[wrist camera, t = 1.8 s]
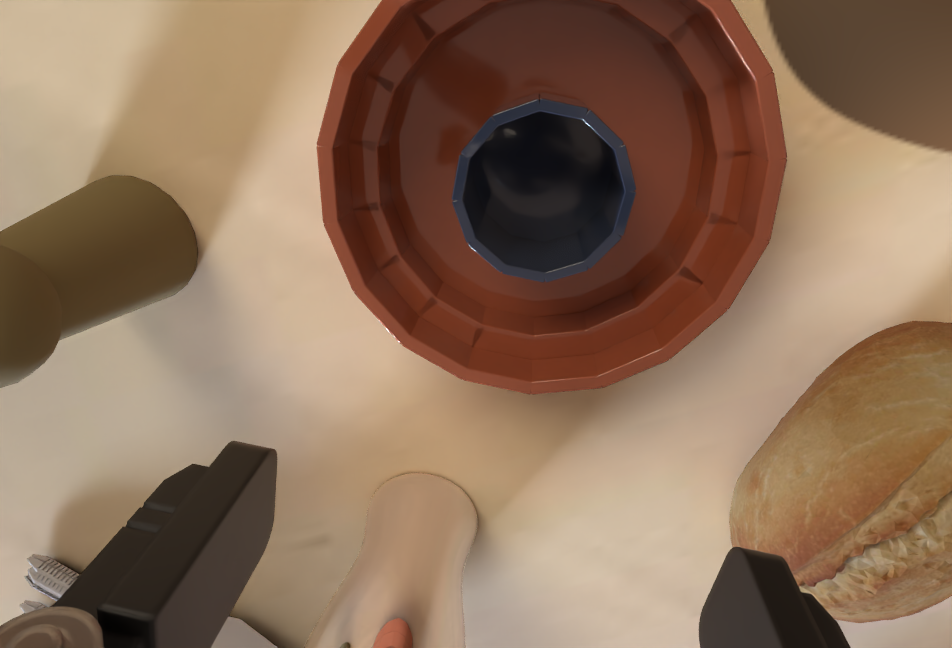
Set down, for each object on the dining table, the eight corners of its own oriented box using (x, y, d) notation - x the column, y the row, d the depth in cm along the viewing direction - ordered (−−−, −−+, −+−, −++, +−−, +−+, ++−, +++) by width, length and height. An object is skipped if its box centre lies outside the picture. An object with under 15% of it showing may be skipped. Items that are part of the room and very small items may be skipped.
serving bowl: (280, 187, 27) (233, 211, 23) (534, -165, 22) (532, -218, 17) (547, 407, 31) (548, 463, 26) (831, 152, 25) (891, 172, 21)
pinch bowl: (456, 228, 27) (440, 261, 23) (483, 78, 24) (471, 83, 20) (595, 258, 27) (605, 296, 23) (637, 110, 24) (657, 122, 20)
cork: (172, 166, 28) (-38, 230, 18) (214, 293, 30) (50, 413, 20) (51, 184, 28) (-215, 255, 18) (101, 306, 31) (-111, 428, 21)
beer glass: (355, 461, 33) (224, 749, 19) (485, 467, 32) (445, 769, 19) (366, 561, 36) (259, 875, 22) (486, 568, 35) (452, 896, 21)
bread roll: (661, 509, 32) (697, 641, 25) (843, 262, 26) (958, 341, 19) (821, 576, 33) (900, 723, 26) (1031, 351, 27) (1212, 459, 20)
